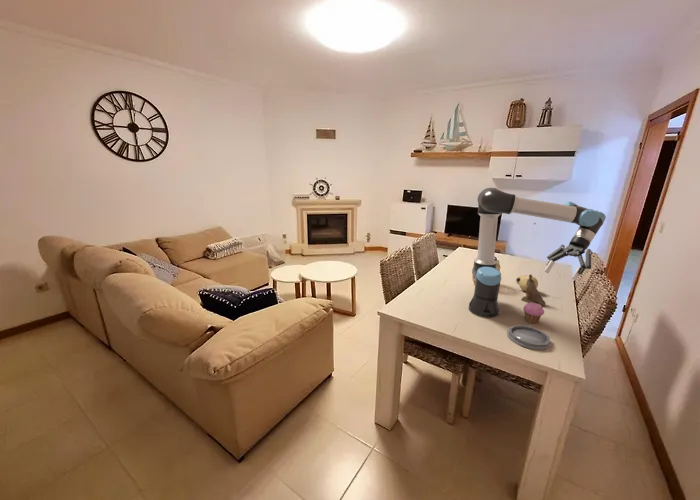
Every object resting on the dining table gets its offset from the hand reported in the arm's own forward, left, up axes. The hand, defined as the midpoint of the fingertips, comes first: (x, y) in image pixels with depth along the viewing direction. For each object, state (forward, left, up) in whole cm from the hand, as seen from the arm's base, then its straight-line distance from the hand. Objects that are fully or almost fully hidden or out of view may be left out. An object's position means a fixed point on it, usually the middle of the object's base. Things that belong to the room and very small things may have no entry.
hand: (559, 275), depth 144 cm
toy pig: (-25, +28, -24) cm, 45 cm away
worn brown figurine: (-14, +14, -24) cm, 31 cm away
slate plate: (+3, -28, -24) cm, 37 cm away
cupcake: (-4, -10, -24) cm, 27 cm away
